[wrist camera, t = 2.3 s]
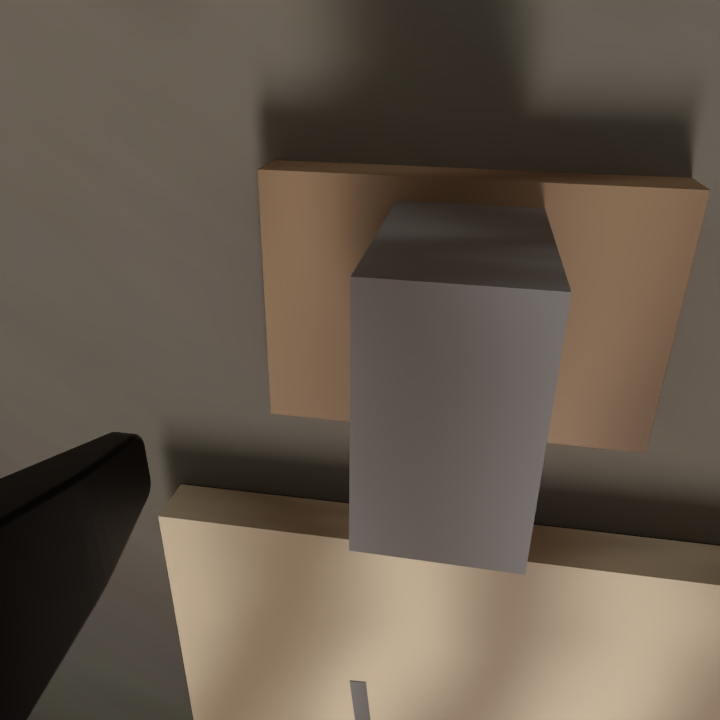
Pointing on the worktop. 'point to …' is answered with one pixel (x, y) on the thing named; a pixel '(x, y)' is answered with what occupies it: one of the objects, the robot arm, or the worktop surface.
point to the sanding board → (433, 621)
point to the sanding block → (469, 333)
